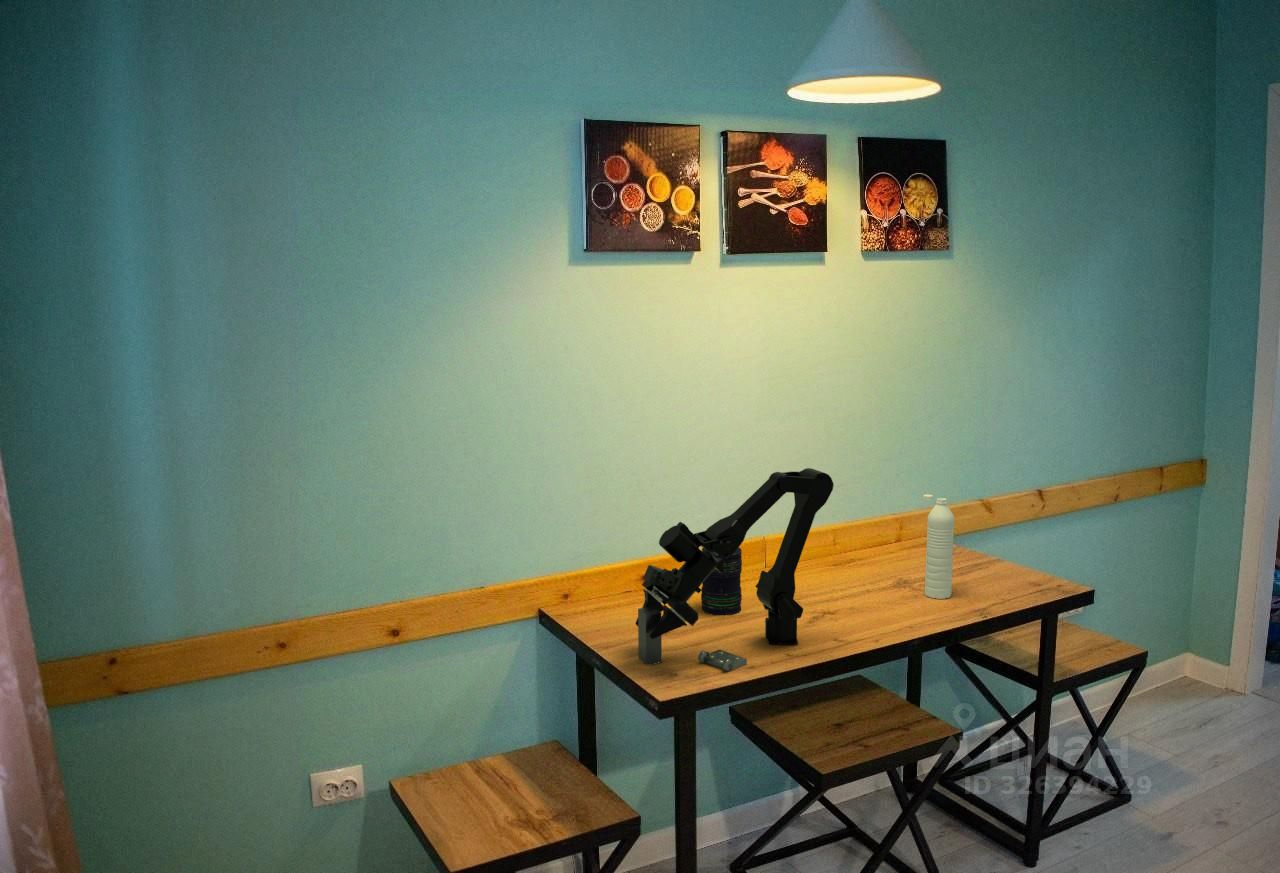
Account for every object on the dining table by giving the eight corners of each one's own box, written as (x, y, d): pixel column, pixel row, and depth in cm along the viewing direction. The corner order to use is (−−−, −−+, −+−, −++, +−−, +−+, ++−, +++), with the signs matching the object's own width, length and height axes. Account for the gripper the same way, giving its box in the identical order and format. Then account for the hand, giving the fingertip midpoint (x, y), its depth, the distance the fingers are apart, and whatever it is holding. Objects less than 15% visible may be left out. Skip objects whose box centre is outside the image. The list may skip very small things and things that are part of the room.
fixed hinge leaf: (719, 654, 232) (719, 644, 231) (746, 664, 226) (746, 653, 226) (698, 663, 227) (698, 652, 227) (725, 672, 222) (725, 661, 221)
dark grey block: (653, 655, 232) (653, 606, 230) (661, 662, 227) (661, 612, 226) (638, 658, 230) (638, 608, 228) (646, 665, 226) (645, 615, 224)
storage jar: (739, 617, 256) (739, 556, 253) (698, 614, 258) (698, 554, 255) (743, 604, 265) (744, 545, 263) (704, 601, 267) (704, 543, 265)
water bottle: (956, 596, 270) (960, 498, 266) (939, 601, 266) (943, 502, 262) (929, 587, 277) (932, 492, 273) (912, 592, 273) (915, 496, 269)
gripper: (650, 541, 235) (603, 596, 233) (684, 563, 218) (634, 622, 216) (683, 572, 239) (637, 626, 237) (719, 596, 222) (670, 654, 220)
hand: (643, 631), depth 227 cm, fingers open, 8 cm apart
